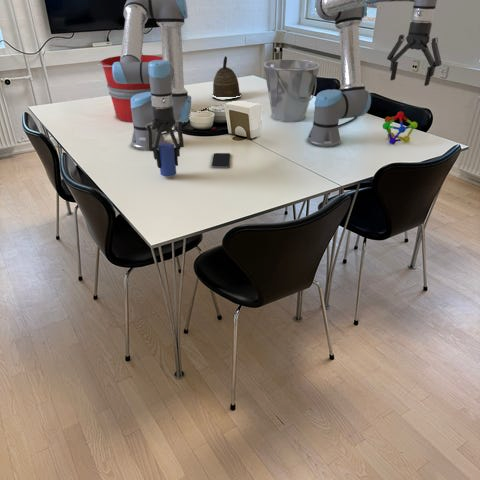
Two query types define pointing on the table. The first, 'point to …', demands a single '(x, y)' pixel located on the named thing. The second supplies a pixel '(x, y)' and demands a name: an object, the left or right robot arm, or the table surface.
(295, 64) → the bucket
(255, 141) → the table surface
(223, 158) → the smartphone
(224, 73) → the bell
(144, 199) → the table surface
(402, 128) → the educational toy
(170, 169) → the can
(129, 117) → the bucket
